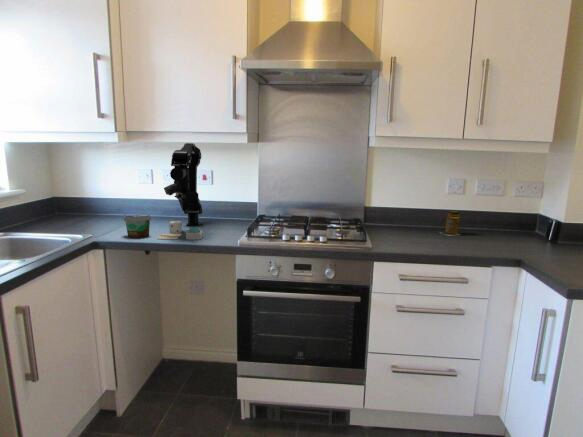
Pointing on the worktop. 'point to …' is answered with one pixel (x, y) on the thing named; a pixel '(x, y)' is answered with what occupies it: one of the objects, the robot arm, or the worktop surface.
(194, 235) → the dome base
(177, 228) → the die
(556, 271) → the worktop surface
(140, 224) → the food container
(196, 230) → the dome button
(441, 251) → the worktop surface
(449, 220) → the condiment
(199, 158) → the robot arm
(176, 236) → the birch tile
